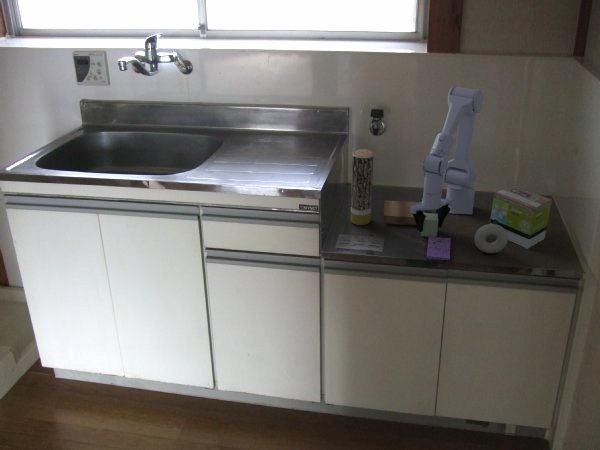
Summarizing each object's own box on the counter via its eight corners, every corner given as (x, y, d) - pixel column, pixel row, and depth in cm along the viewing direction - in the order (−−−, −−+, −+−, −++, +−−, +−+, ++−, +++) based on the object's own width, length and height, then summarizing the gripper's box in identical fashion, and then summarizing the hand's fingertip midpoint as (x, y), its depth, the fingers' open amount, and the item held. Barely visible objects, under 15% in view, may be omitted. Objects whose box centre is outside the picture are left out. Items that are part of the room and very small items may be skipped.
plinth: (424, 210, 226) (424, 202, 225) (425, 225, 216) (425, 217, 214) (384, 208, 228) (384, 200, 227) (383, 223, 217) (383, 215, 216)
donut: (473, 254, 198) (476, 225, 194) (472, 249, 201) (475, 220, 197) (506, 256, 197) (510, 227, 192) (504, 250, 200) (509, 222, 195)
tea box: (487, 233, 211) (493, 192, 204) (505, 223, 216) (511, 183, 210) (527, 250, 200) (535, 207, 194) (545, 239, 206) (553, 198, 199)
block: (436, 229, 213) (437, 213, 210) (436, 236, 209) (438, 220, 206) (420, 229, 214) (422, 212, 211) (421, 236, 209) (422, 219, 206)
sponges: (450, 243, 206) (450, 238, 205) (449, 263, 195) (450, 257, 194) (428, 241, 207) (428, 236, 207) (426, 260, 197) (426, 255, 196)
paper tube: (373, 219, 220) (376, 150, 209) (366, 227, 215) (369, 157, 203) (354, 215, 223) (356, 147, 211) (347, 223, 217) (349, 154, 206)
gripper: (444, 182, 210) (440, 219, 216) (406, 190, 205) (403, 227, 211) (457, 190, 204) (453, 228, 211) (418, 198, 199) (415, 237, 205)
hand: (429, 228), depth 210 cm, fingers closed on block, 7 cm apart
